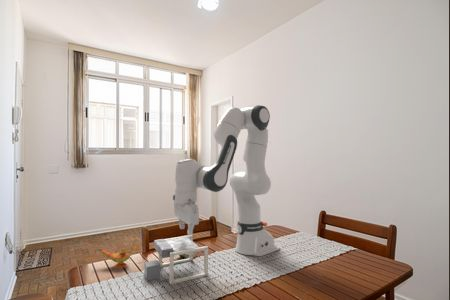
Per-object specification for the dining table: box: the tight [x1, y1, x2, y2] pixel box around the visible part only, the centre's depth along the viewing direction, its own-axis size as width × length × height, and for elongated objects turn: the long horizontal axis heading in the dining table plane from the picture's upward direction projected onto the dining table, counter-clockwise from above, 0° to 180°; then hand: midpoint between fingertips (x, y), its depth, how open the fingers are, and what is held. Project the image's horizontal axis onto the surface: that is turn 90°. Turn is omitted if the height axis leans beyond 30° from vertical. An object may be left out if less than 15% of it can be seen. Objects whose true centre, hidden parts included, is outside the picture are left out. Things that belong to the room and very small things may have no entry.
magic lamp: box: [96, 240, 139, 269], centre depth 108 cm, size 7×18×11 cm, turn 88°
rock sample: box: [178, 252, 197, 259], centre depth 118 cm, size 10×8×9 cm
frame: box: [158, 234, 209, 285], centre depth 103 cm, size 15×18×11 cm
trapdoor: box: [153, 237, 200, 259], centre depth 102 cm, size 14×14×3 cm
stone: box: [143, 259, 161, 281], centre depth 98 cm, size 5×5×5 cm
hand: (185, 231), depth 104 cm, fingers open, 8 cm apart
